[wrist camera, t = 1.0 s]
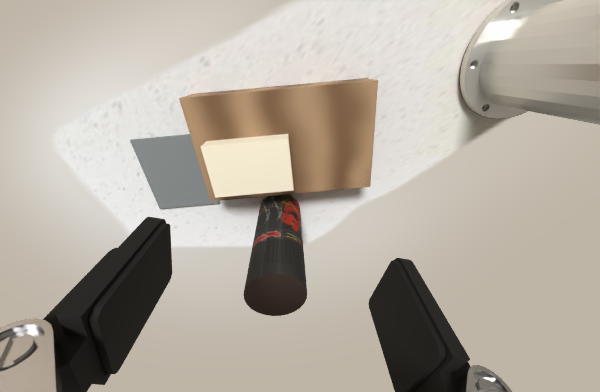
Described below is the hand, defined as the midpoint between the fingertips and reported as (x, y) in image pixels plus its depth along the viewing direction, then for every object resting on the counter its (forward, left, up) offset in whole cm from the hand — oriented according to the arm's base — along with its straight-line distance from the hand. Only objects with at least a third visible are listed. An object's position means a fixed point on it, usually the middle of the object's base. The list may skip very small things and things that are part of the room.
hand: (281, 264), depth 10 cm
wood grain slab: (0, +1, -23) cm, 23 cm away
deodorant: (+2, +12, -23) cm, 26 cm away
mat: (+15, +4, -23) cm, 27 cm away
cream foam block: (+4, +2, -19) cm, 19 cm away
